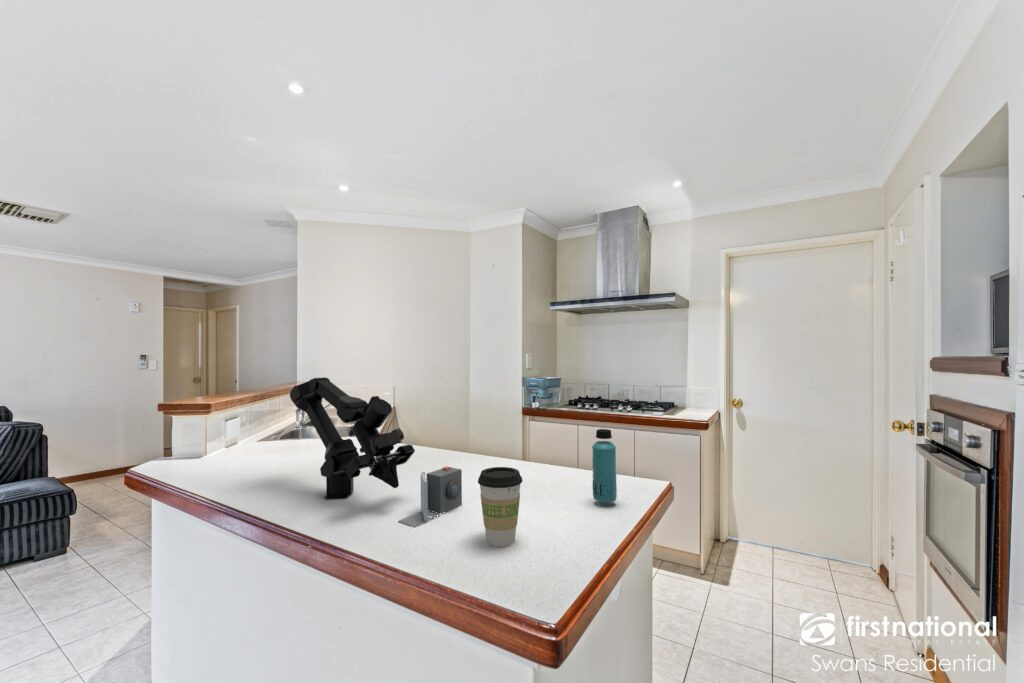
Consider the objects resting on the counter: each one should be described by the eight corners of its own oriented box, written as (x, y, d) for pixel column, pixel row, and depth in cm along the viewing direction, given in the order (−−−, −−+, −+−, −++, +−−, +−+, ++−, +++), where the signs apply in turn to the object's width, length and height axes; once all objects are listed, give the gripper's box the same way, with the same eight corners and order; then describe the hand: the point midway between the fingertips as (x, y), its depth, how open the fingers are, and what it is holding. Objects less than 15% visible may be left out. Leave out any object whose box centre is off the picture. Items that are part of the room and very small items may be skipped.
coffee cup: (489, 555, 91) (488, 481, 92) (471, 537, 100) (470, 469, 100) (531, 544, 96) (530, 474, 96) (510, 528, 105) (509, 464, 105)
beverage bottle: (619, 501, 122) (618, 428, 122) (614, 510, 116) (613, 432, 116) (595, 498, 125) (595, 426, 125) (589, 506, 119) (588, 430, 119)
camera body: (398, 522, 109) (397, 480, 109) (448, 501, 123) (447, 464, 123) (416, 528, 105) (415, 484, 106) (465, 506, 120) (465, 467, 120)
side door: (424, 520, 108) (424, 481, 108) (420, 508, 116) (420, 472, 117) (429, 520, 108) (429, 481, 109) (425, 508, 117) (424, 471, 117)
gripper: (352, 425, 111) (381, 477, 104) (410, 415, 126) (438, 460, 119) (334, 452, 115) (360, 504, 109) (392, 439, 130) (418, 484, 124)
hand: (396, 487), depth 115 cm, fingers closed
